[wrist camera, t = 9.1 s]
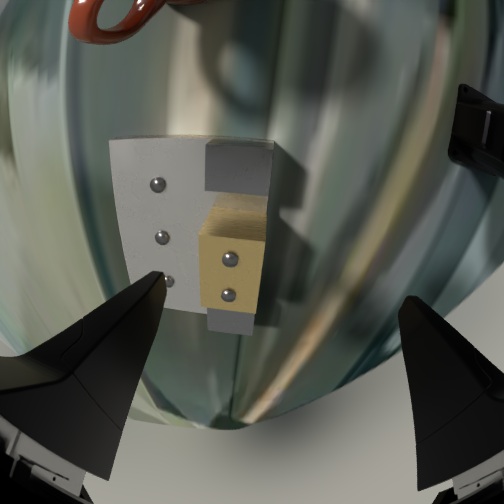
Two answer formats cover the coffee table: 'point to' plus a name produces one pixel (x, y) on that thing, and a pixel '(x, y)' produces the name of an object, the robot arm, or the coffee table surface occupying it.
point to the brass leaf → (231, 259)
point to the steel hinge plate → (184, 207)
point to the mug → (142, 11)
